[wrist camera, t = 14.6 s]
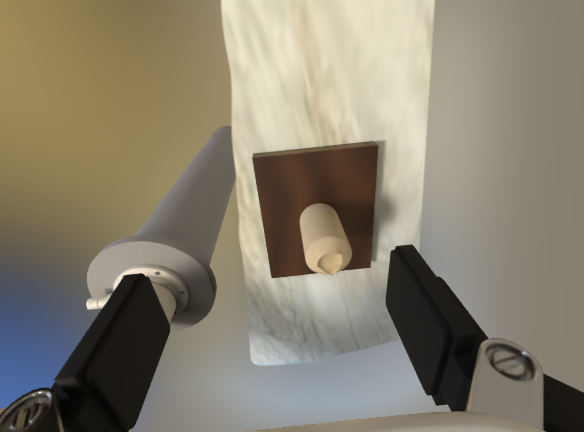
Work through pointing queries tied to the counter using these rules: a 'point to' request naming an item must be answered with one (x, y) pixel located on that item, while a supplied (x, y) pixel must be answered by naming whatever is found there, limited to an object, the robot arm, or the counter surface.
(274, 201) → the walnut board
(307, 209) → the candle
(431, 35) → the counter surface
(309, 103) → the counter surface
